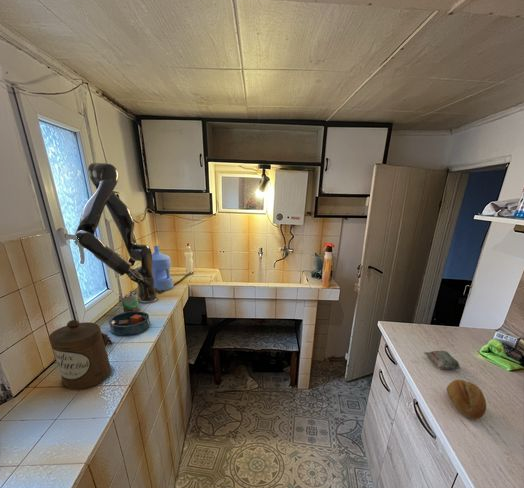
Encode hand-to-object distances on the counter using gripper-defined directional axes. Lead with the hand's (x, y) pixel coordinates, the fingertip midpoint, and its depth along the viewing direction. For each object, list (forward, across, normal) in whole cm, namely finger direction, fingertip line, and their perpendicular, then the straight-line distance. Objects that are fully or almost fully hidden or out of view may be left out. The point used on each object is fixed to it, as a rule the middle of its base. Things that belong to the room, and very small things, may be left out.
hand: (149, 285), depth 142 cm
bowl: (+4, -10, +20) cm, 23 cm away
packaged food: (+87, -86, -62) cm, 137 cm away
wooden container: (-5, -47, +29) cm, 56 cm away
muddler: (+3, 0, +6) cm, 7 cm away
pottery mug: (-4, -26, +28) cm, 39 cm away
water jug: (+17, +48, +7) cm, 52 cm away
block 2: (+6, -9, +17) cm, 20 cm away
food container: (+5, +10, +19) cm, 23 cm away
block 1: (+2, -13, +21) cm, 25 cm away
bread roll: (+76, -106, -52) cm, 140 cm away
